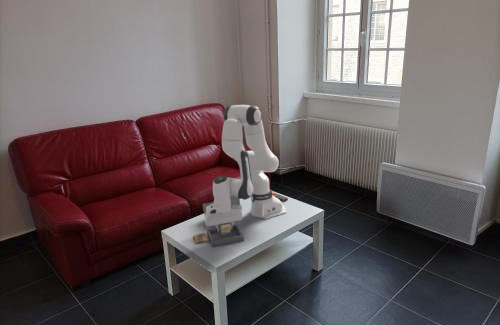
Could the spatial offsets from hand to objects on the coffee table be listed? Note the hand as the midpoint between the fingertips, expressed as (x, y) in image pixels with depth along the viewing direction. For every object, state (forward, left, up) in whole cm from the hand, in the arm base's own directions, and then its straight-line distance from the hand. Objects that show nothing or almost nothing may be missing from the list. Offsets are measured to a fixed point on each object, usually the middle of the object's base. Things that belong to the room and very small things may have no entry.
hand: (224, 230), depth 196 cm
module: (0, 0, -4) cm, 4 cm away
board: (+13, -4, -5) cm, 14 cm away
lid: (0, -10, +5) cm, 11 cm away
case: (0, 0, -5) cm, 5 cm away
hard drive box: (-8, -25, -5) cm, 27 cm away
